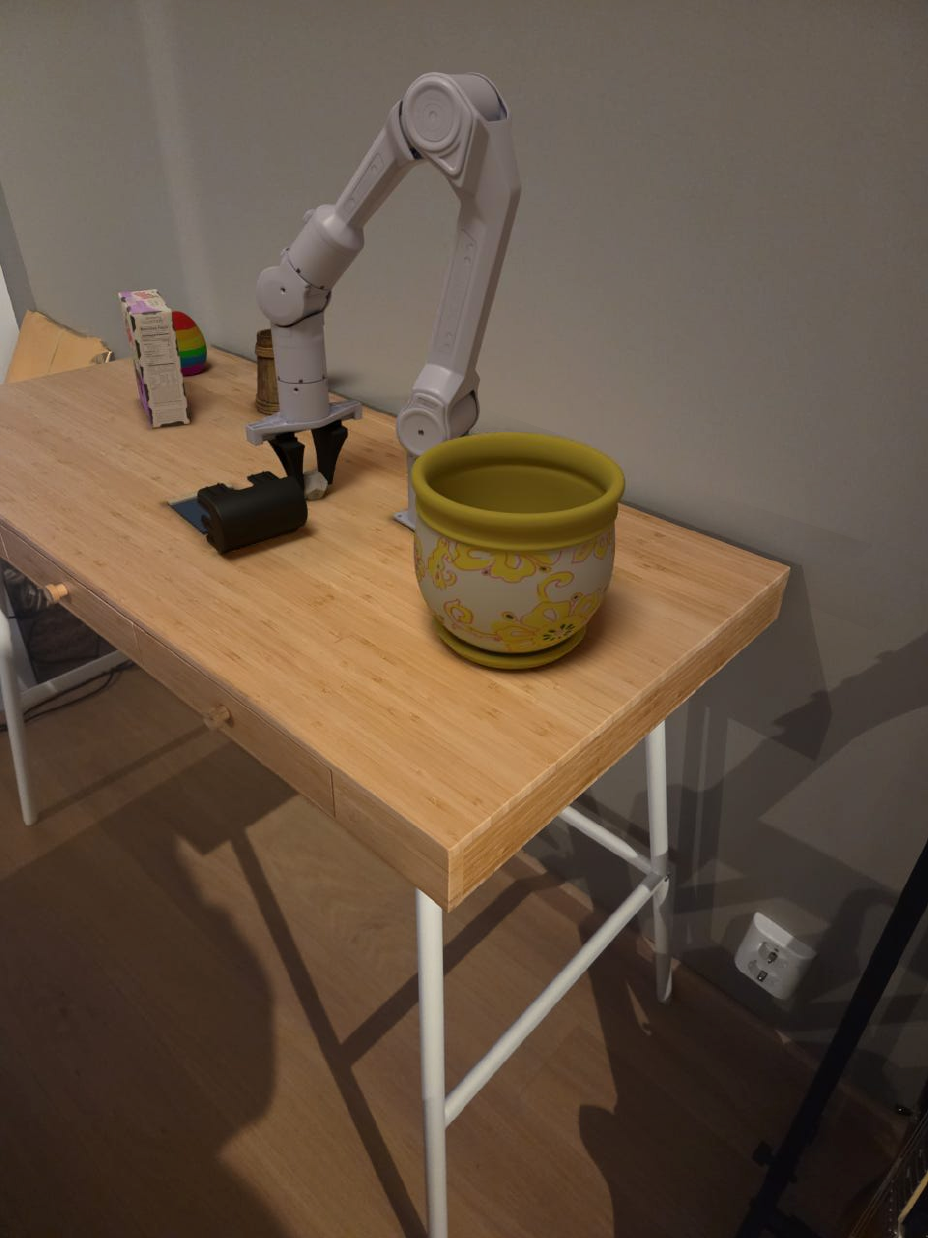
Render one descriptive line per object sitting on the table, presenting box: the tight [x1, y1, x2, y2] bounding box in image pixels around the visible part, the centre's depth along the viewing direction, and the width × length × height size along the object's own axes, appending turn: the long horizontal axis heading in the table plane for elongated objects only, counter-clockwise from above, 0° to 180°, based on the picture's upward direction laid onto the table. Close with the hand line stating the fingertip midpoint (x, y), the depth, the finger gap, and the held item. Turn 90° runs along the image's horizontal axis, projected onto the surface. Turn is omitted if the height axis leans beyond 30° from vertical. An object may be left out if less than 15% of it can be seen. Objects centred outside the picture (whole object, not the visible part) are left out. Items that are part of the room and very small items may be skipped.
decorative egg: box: [172, 310, 208, 377], centre depth 141 cm, size 8×8×10 cm
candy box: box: [117, 288, 191, 429], centre depth 122 cm, size 14×6×16 cm, turn 25°
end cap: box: [197, 470, 309, 555], centre depth 91 cm, size 10×7×7 cm
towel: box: [166, 482, 234, 535], centre depth 99 cm, size 10×8×1 cm
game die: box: [303, 469, 328, 501], centre depth 102 cm, size 4×4×3 cm
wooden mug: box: [254, 327, 280, 415], centre depth 126 cm, size 9×14×18 cm, turn 126°
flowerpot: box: [410, 431, 626, 670], centre depth 74 cm, size 18×18×16 cm
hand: (312, 486), depth 102 cm, fingers closed on game die, 3 cm apart
